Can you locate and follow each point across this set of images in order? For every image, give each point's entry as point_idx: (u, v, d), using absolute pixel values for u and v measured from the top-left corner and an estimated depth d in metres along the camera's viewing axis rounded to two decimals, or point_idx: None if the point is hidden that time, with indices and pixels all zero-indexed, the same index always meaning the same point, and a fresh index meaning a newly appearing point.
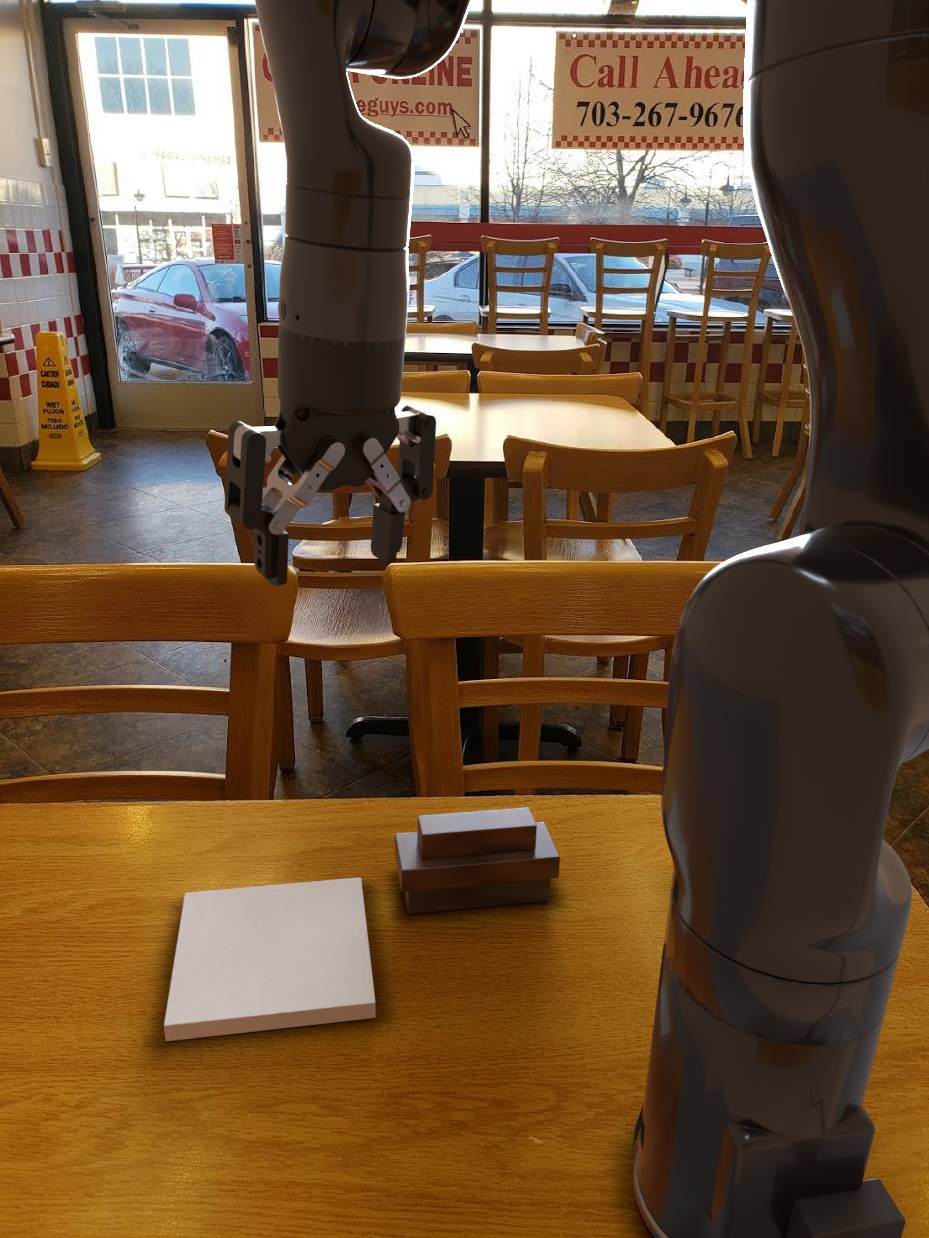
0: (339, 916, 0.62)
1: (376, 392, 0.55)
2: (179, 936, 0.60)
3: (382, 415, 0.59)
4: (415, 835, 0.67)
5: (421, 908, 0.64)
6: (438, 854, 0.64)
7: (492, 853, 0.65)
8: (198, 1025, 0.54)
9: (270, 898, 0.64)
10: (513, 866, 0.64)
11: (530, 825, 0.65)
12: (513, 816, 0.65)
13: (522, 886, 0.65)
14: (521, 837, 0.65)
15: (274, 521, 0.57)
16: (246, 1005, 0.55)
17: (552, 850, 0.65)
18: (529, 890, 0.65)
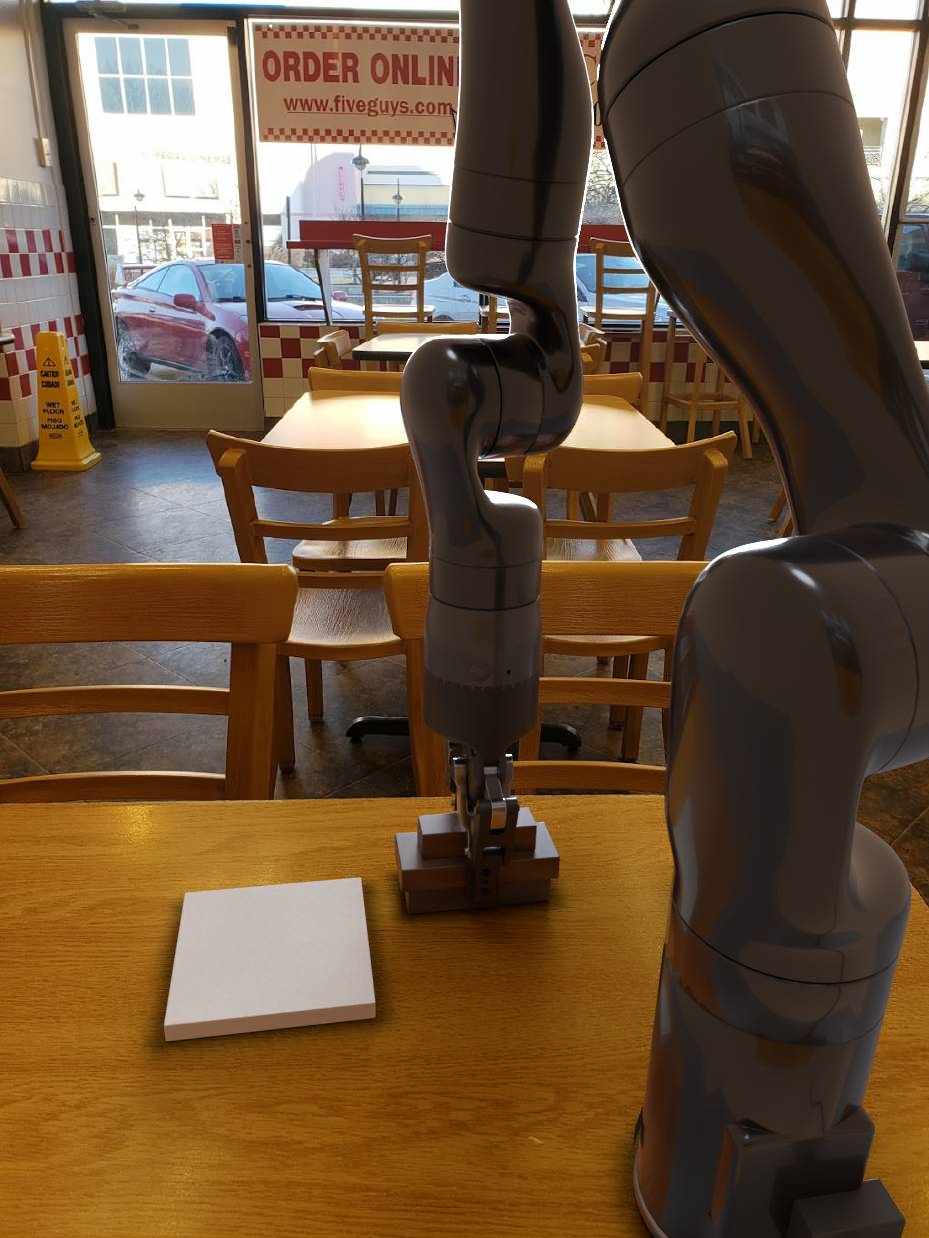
0: (339, 916, 0.62)
1: None
2: (179, 936, 0.60)
3: None
4: (415, 835, 0.67)
5: (421, 908, 0.64)
6: (438, 854, 0.64)
7: None
8: (198, 1025, 0.54)
9: (270, 898, 0.64)
10: (513, 866, 0.64)
11: (530, 825, 0.65)
12: None
13: (522, 886, 0.65)
14: (521, 837, 0.65)
15: None
16: (246, 1005, 0.55)
17: (552, 850, 0.65)
18: (529, 890, 0.65)
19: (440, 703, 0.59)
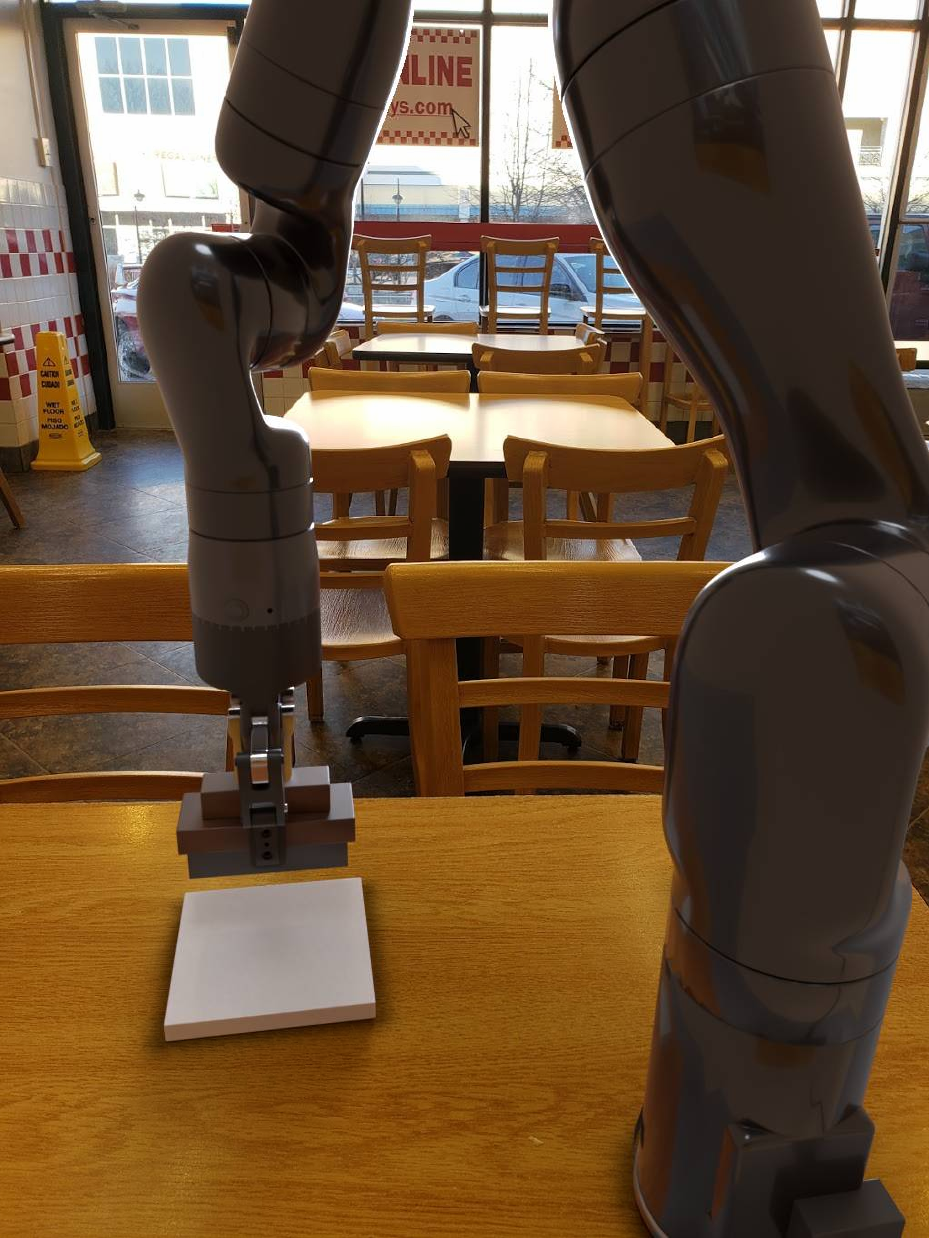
0: (339, 916, 0.62)
1: None
2: (179, 936, 0.60)
3: None
4: None
5: (203, 873, 0.59)
6: (220, 814, 0.59)
7: None
8: (198, 1025, 0.54)
9: (270, 898, 0.64)
10: (302, 828, 0.59)
11: (322, 784, 0.60)
12: (307, 775, 0.60)
13: (316, 850, 0.60)
14: (313, 797, 0.60)
15: (284, 805, 0.57)
16: (246, 1005, 0.55)
17: (348, 811, 0.60)
18: (324, 855, 0.60)
19: (202, 645, 0.54)
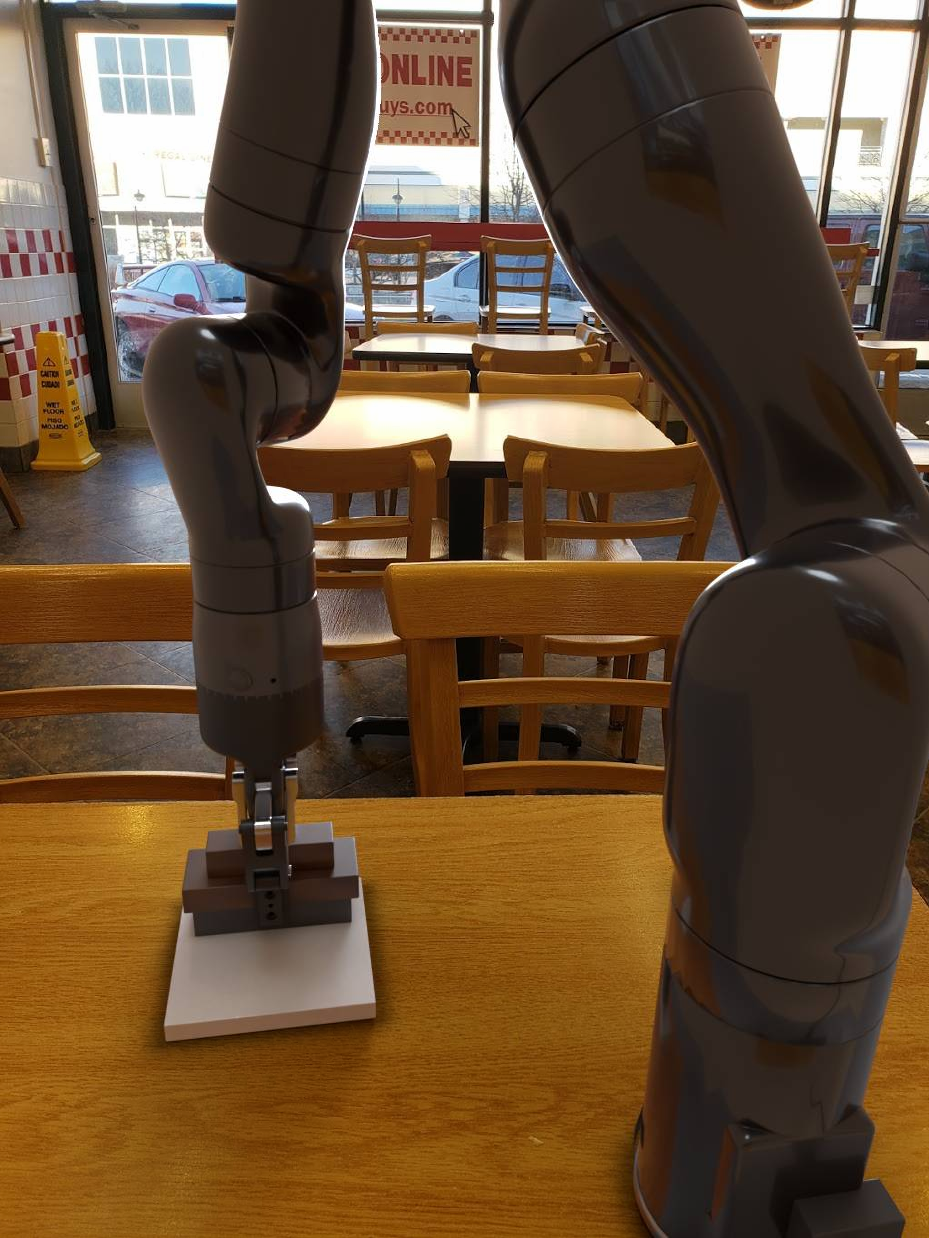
0: None
1: (324, 707, 0.58)
2: (179, 936, 0.60)
3: None
4: None
5: (208, 930, 0.60)
6: (225, 872, 0.60)
7: None
8: (198, 1025, 0.54)
9: None
10: (306, 886, 0.60)
11: (326, 841, 0.60)
12: (311, 832, 0.61)
13: (320, 906, 0.61)
14: (317, 854, 0.60)
15: (288, 867, 0.58)
16: (246, 1005, 0.55)
17: (352, 868, 0.61)
18: (328, 911, 0.61)
19: (206, 713, 0.54)
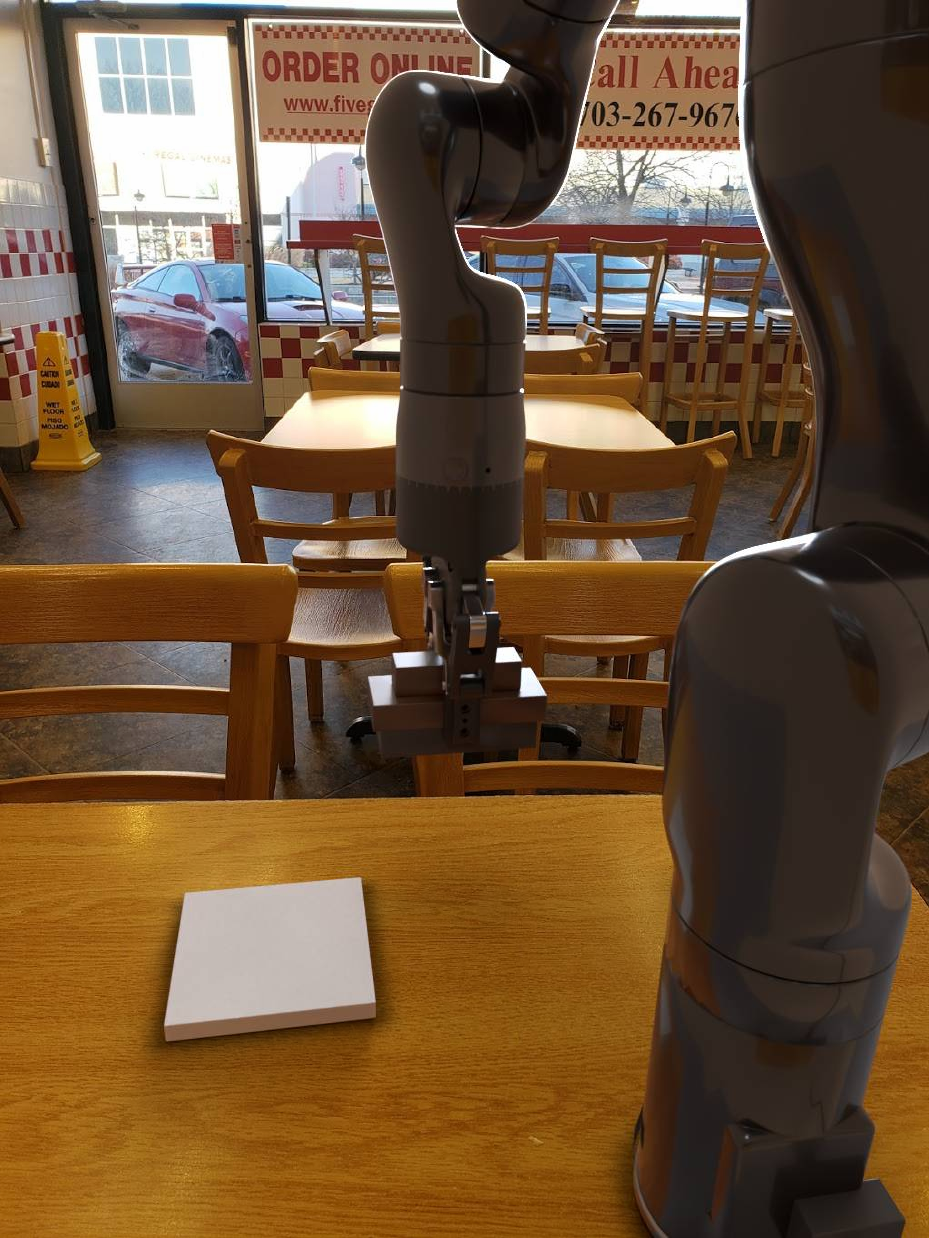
0: (339, 916, 0.62)
1: None
2: (179, 936, 0.60)
3: None
4: (389, 677, 0.61)
5: (395, 752, 0.59)
6: (414, 691, 0.58)
7: None
8: (198, 1025, 0.54)
9: (270, 898, 0.64)
10: (496, 705, 0.59)
11: (515, 661, 0.59)
12: None
13: (507, 729, 0.60)
14: (505, 674, 0.59)
15: None
16: (246, 1005, 0.55)
17: (539, 690, 0.60)
18: (514, 734, 0.60)
19: (413, 511, 0.53)
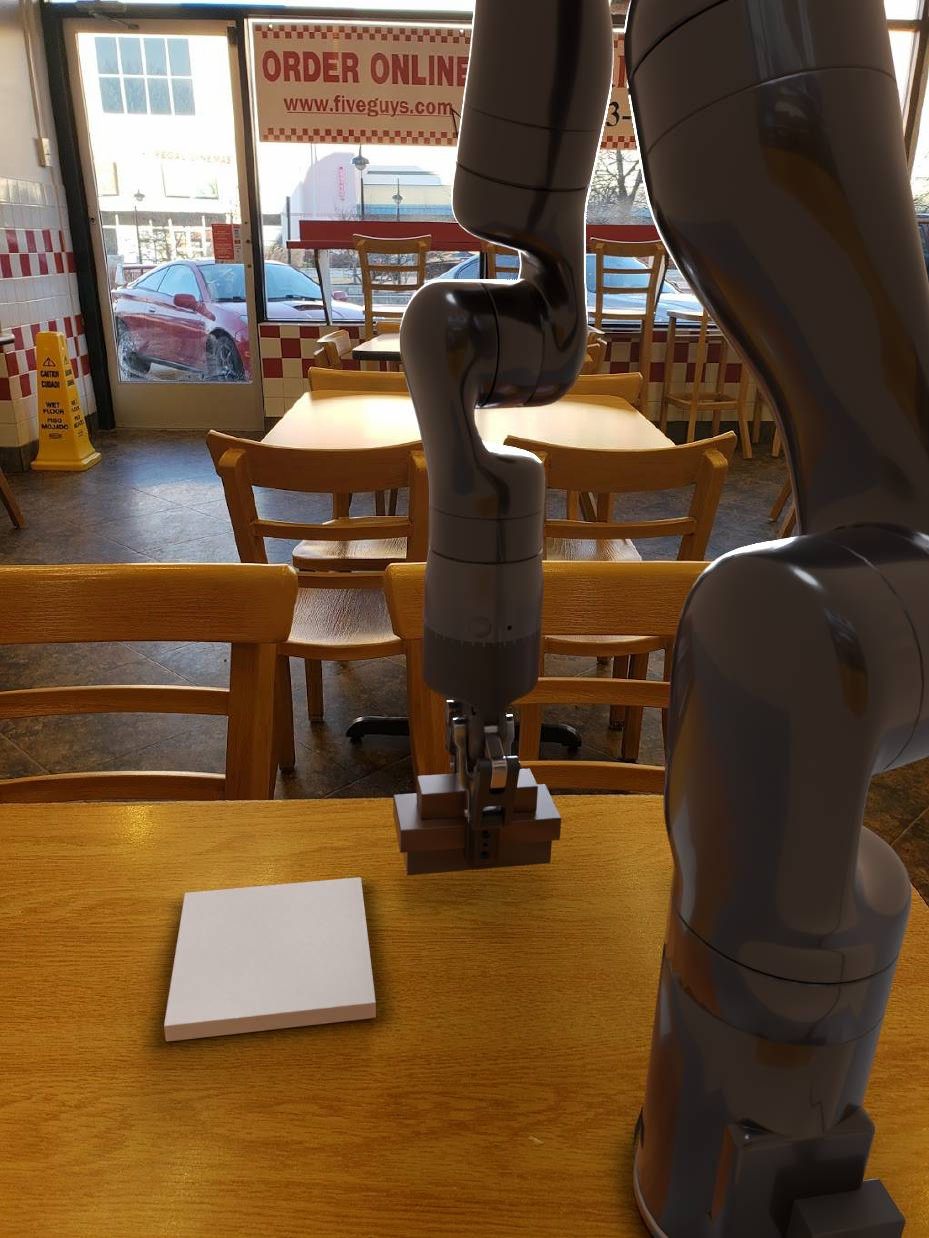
0: (339, 916, 0.62)
1: None
2: (179, 936, 0.60)
3: None
4: (414, 796, 0.65)
5: (419, 870, 0.63)
6: (437, 814, 0.63)
7: None
8: (198, 1025, 0.54)
9: (270, 898, 0.64)
10: (513, 827, 0.63)
11: (531, 786, 0.63)
12: None
13: (523, 847, 0.64)
14: (522, 798, 0.64)
15: None
16: (246, 1005, 0.55)
17: (553, 811, 0.64)
18: (530, 852, 0.64)
19: (439, 660, 0.58)
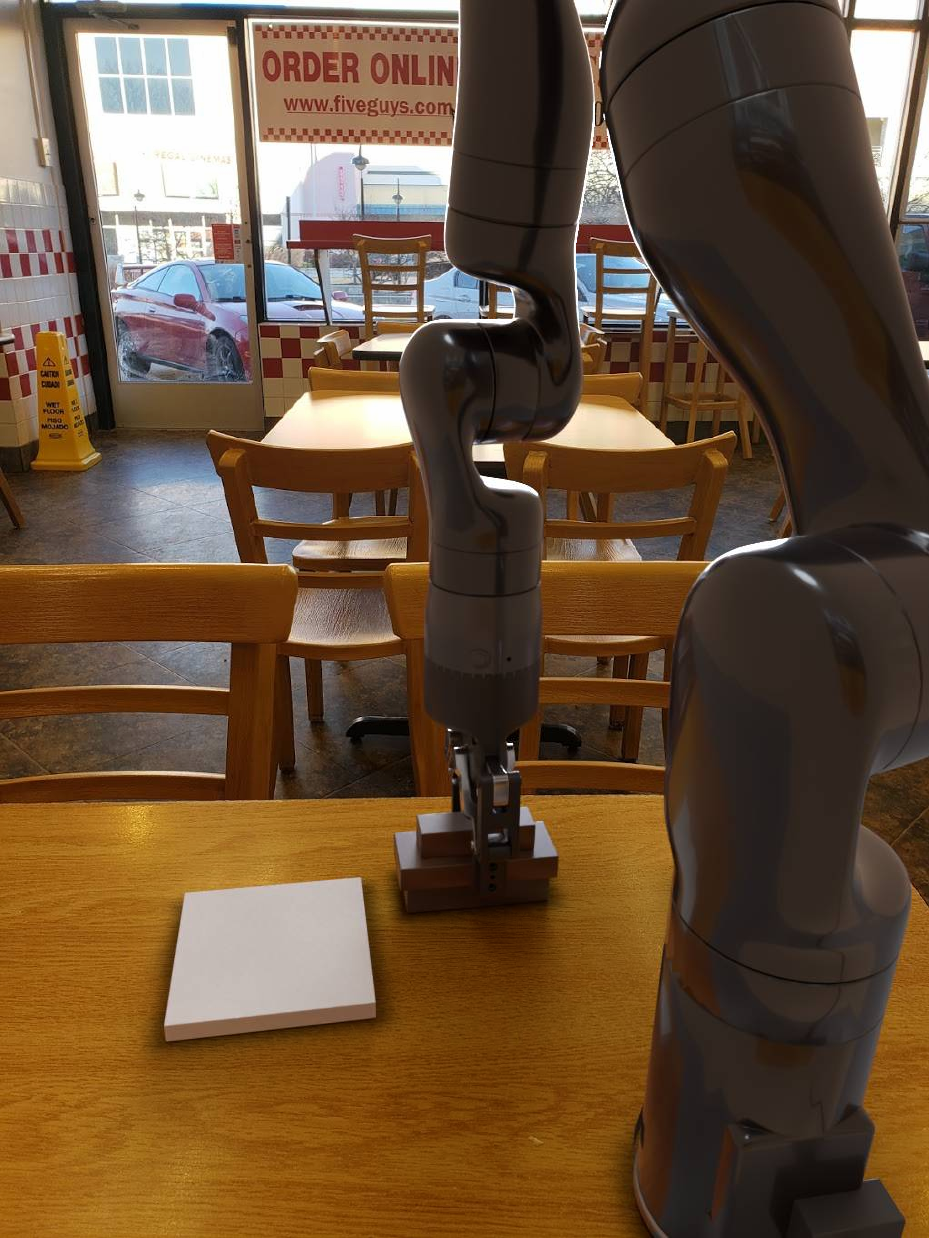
0: (339, 916, 0.62)
1: None
2: (179, 936, 0.60)
3: None
4: (414, 834, 0.67)
5: (419, 907, 0.64)
6: (437, 853, 0.64)
7: None
8: (198, 1025, 0.54)
9: (270, 898, 0.64)
10: (512, 866, 0.64)
11: (529, 824, 0.65)
12: None
13: (521, 885, 0.65)
14: (520, 836, 0.65)
15: None
16: (246, 1005, 0.55)
17: (551, 849, 0.65)
18: (528, 889, 0.65)
19: (440, 691, 0.58)
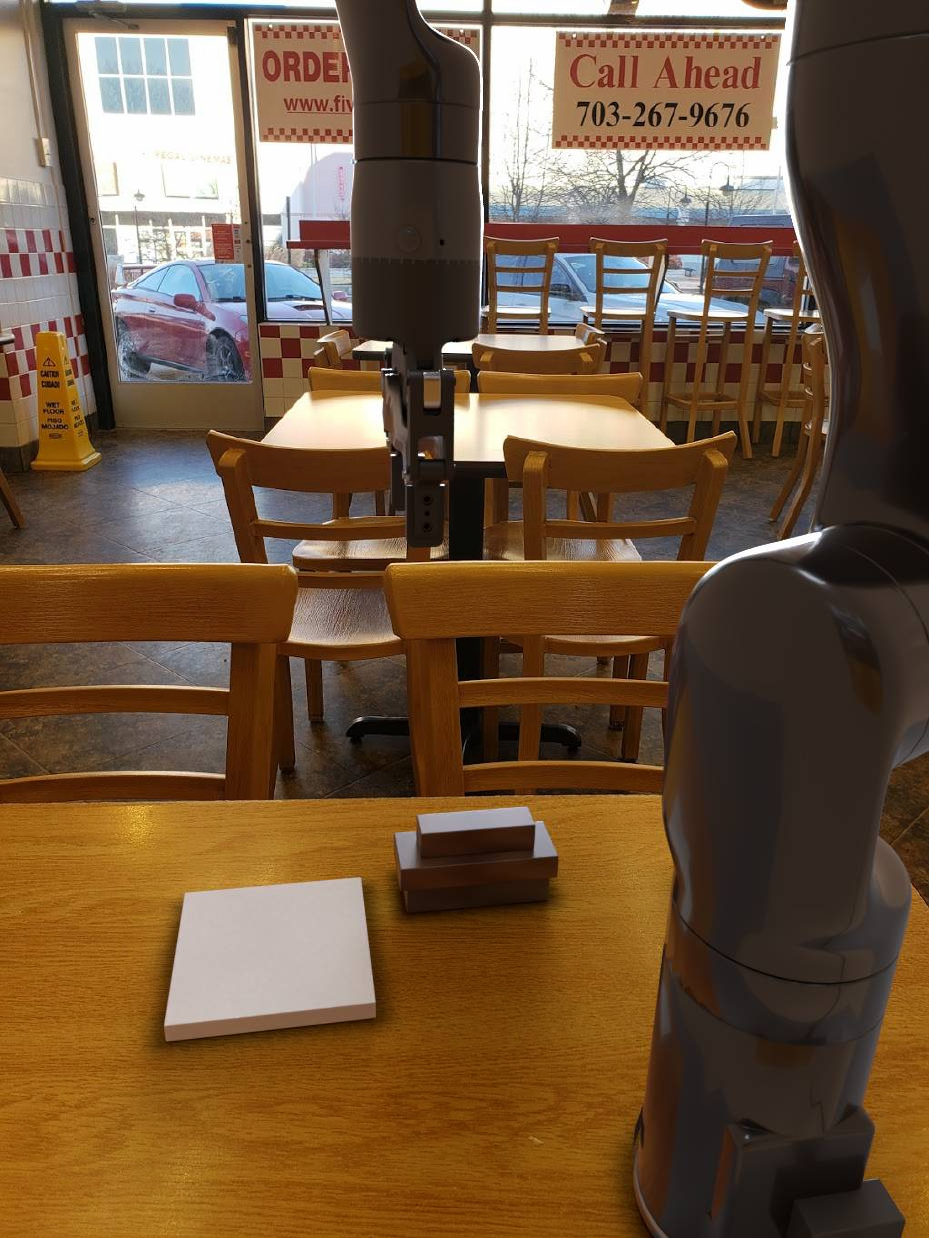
0: (339, 916, 0.62)
1: None
2: (179, 936, 0.60)
3: None
4: (414, 834, 0.67)
5: (419, 907, 0.64)
6: (437, 853, 0.64)
7: (491, 852, 0.65)
8: (198, 1025, 0.54)
9: (270, 898, 0.64)
10: (512, 865, 0.64)
11: (529, 824, 0.65)
12: (512, 816, 0.66)
13: (521, 885, 0.65)
14: (520, 836, 0.65)
15: None
16: (246, 1005, 0.55)
17: (551, 849, 0.65)
18: (528, 889, 0.65)
19: (366, 290, 0.52)
